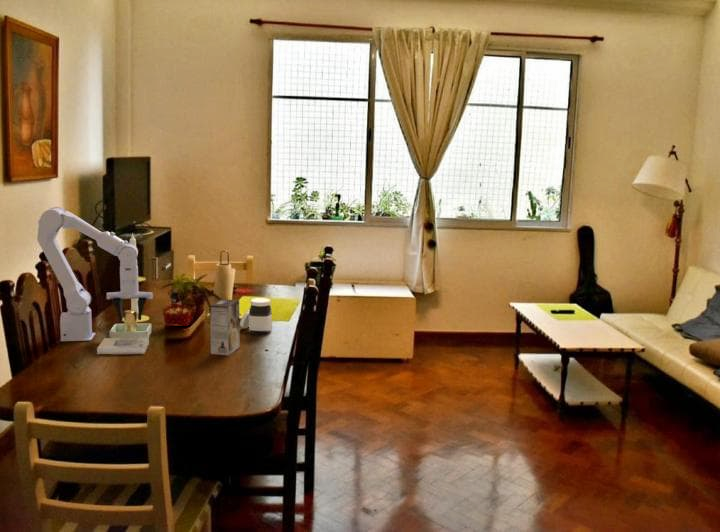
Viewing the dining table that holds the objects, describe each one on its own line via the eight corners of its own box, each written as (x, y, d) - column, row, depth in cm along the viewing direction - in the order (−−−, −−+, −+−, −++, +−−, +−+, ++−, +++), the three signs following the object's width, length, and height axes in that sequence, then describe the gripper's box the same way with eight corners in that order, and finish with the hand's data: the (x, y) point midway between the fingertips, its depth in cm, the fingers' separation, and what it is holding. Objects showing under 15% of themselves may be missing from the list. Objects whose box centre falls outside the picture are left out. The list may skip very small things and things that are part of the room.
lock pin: (123, 336, 225) (123, 313, 224) (125, 332, 229) (125, 310, 228) (135, 336, 226) (135, 313, 225) (137, 332, 230) (137, 310, 228)
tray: (109, 341, 222) (109, 332, 221) (115, 332, 232) (114, 323, 231) (147, 340, 224) (147, 331, 223) (151, 331, 234) (151, 323, 233)
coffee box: (221, 345, 221) (221, 298, 218) (240, 347, 220) (240, 299, 217) (210, 354, 212) (209, 304, 209) (229, 356, 211) (228, 306, 208)
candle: (119, 317, 251) (116, 231, 245) (147, 314, 255) (145, 230, 249) (122, 323, 242) (119, 235, 236) (151, 321, 247) (148, 234, 241)
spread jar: (268, 336, 233) (269, 304, 231) (236, 335, 233) (236, 302, 231) (274, 327, 245) (274, 296, 243) (243, 325, 245) (243, 294, 243)
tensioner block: (97, 354, 208) (96, 348, 207) (104, 344, 218) (104, 338, 218) (144, 353, 210) (143, 347, 210) (148, 343, 221) (148, 337, 220)
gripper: (104, 282, 219) (105, 322, 222) (150, 282, 222) (151, 322, 224) (108, 278, 226) (109, 317, 229) (152, 278, 228) (153, 316, 231)
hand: (130, 319), depth 227 cm, fingers open, 5 cm apart
